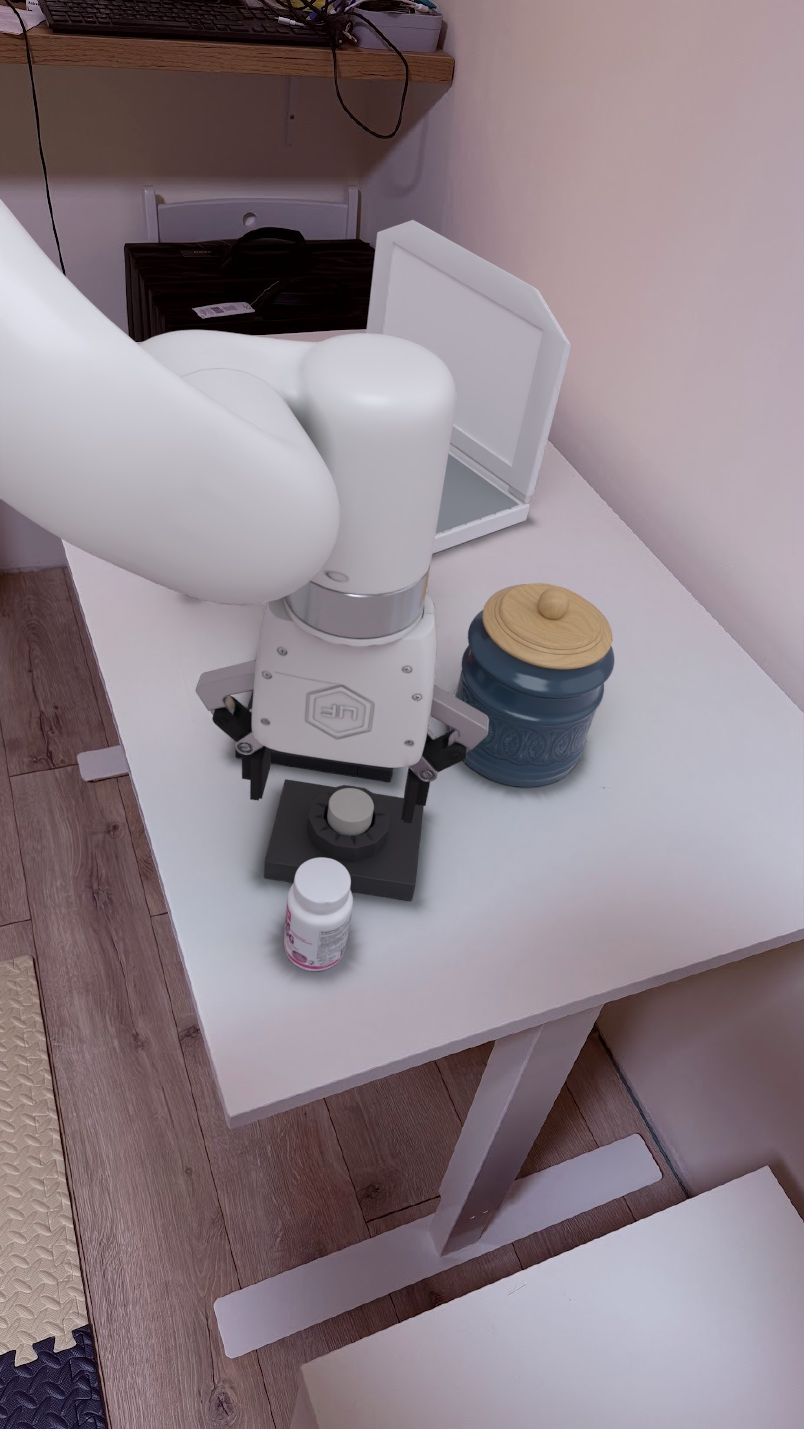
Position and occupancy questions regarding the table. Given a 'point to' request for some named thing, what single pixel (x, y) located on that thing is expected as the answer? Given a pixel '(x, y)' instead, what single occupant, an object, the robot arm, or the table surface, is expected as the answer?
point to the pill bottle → (318, 914)
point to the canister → (534, 681)
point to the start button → (350, 811)
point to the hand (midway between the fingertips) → (334, 795)
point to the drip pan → (327, 763)
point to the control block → (346, 841)
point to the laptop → (475, 370)
